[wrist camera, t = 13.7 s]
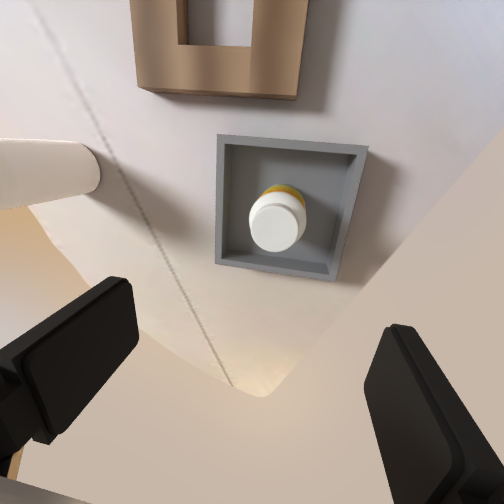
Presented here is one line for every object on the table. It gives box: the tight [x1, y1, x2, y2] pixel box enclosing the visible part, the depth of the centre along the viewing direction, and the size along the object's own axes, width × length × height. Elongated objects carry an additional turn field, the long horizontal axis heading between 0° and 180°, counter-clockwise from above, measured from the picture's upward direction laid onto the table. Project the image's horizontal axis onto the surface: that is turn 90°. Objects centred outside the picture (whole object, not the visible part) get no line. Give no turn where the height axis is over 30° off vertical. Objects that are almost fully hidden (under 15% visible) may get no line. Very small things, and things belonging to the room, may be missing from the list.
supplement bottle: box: [249, 184, 306, 252], centre depth 24 cm, size 5×5×10 cm
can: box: [0, 138, 100, 209], centre depth 26 cm, size 6×6×12 cm
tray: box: [215, 134, 369, 282], centre depth 28 cm, size 14×14×4 cm
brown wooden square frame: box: [130, 0, 309, 100], centre depth 22 cm, size 16×14×2 cm
